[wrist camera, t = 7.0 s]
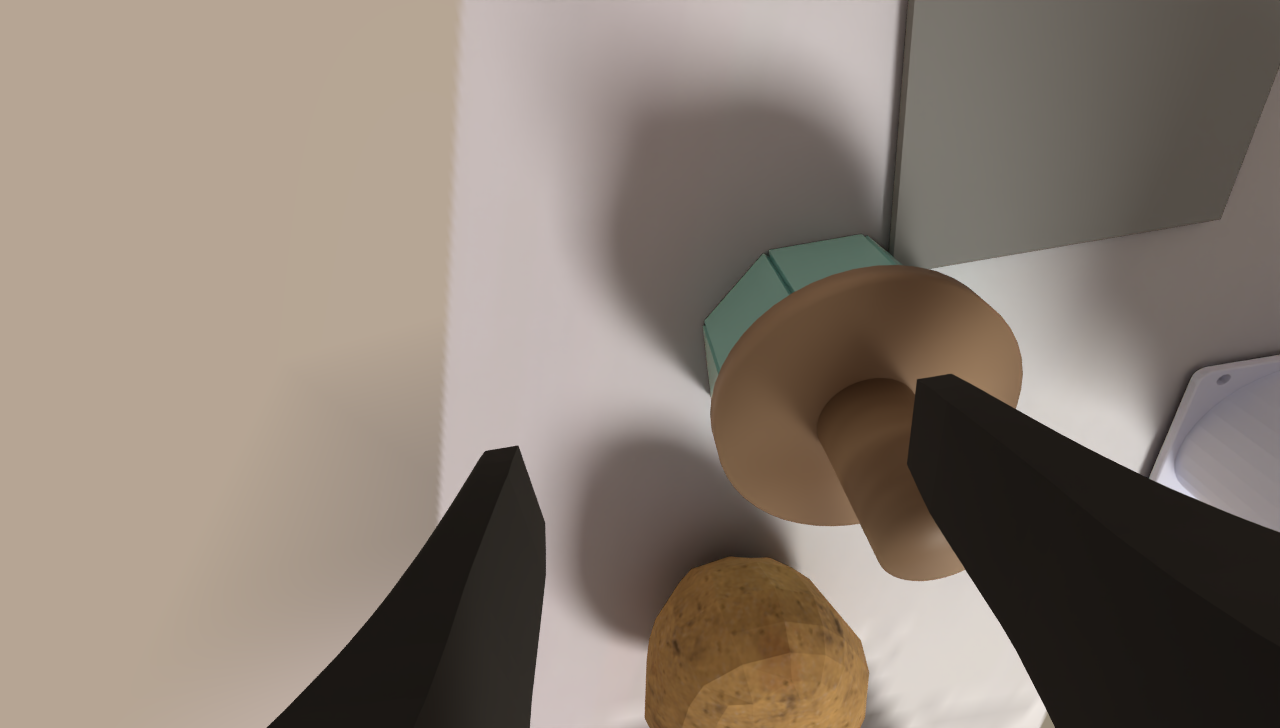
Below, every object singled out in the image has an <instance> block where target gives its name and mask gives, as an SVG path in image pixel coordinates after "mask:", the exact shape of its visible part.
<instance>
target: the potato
mask: <svg viewBox="0 0 1280 728" xmlns="http://www.w3.org/2000/svg"><path fill="white" fill-rule="evenodd" d="M868 678H869V670H868V666H867V662H866V659H865V655H864V651H863V647H862V643H861V640H860V639H859V638H858V637H857V635H856V634H855V633H854V632H853V630H852V629H851V628H850V627H849V626H848V624H847V623H846V622H845V621H844V620H843V618H842V617H841V616H840V615H839V614H838V613H837V611H836V610H835V609H834V608H833V607H832V605H831V604H830V603H829V602H828V601H827V599H826V598H825V597H824V596H823V595H822V594H821V592H820V591H819V590H818V589H817V588H816V586H815V585H814V584H813V583H812V582H811V580H810V579H809V578H807V577H805V576H804V575H802V574H801V573H799V572H798V571H796V570H795V569H793V568H791V567H789V566H787V565H785V564H783V563H780V562H778V561H776V560H774V559H771V558H769V557H767V558H744V557H732V556H729V557H726V558H723V559H720V560H717V561H714V562H711V563H708V564H705V565H702V566H699V567H696V568H693V569H691V570H690V571H689V572H688V573H687V575H686V576H685V577H684V578H683V579H682V580H681V581H680V582H679V584H678V585H677V587H676V588H675V590H674V592H673V593H672V595H671V596H670V598H669V599H668V601H667V602H666V604H665V605H664V607H663V608H662V610H661V611H660V613H659V615H658V616H657V618H656V619H655V622H654V626H653V629H652V632H651V635H650V638H649V646H648V654H647V667H646V695H645V720H646V722H647V723H648V725H649V727H650V728H860V726H861V724H862V722H863V720H864V719H865V709H866V699H867V688H868Z"/></svg>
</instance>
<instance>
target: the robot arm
mask: <svg viewBox="0 0 1280 728" xmlns="http://www.w3.org/2000/svg"><path fill="white" fill-rule="evenodd" d="M907 466H908V468H909V470H910V472H911V475H912V477H913V479H914V481H915V484H916V486H917V488H918V490H919V492H920V494H921V496H922V498H923V501H924V503H925V505H926V507H927V509H928V511H929V513H930V515H931V516H932V518H933V519H934V521H935V523H936V524H937V526H938V528H939V529H940V531H941V532H942V534H943V535H944V537H945V539H946V540H947V542H948V543H949V545H950V546H951V548H952V550H953V551H954V553H955V554H956V556H957V557H958V559H959V560H960V562H961V564H962V565H963V567H964V568H965V570H966V571H967V573H968V574H969V576H970V578H971V579H972V581H973V582H974V584H975V585H976V587H977V588H978V590H979V591H980V593H981V595H982V596H983V598H984V599H985V601H986V602H987V604H988V605H989V607H990V608H991V610H992V612H993V613H994V615H995V616H996V618H997V619H998V621H999V622H1000V624H1001V626H1002V627H1003V629H1004V631H1005V632H1006V634H1007V636H1008V638H1009V639H1010V641H1011V643H1012V644H1013V646H1014V648H1015V649H1016V651H1017V653H1018V655H1019V657H1020V659H1021V661H1022V663H1023V665H1024V667H1025V669H1026V671H1027V673H1028V675H1029V676H1030V678H1031V680H1032V682H1033V684H1034V686H1035V688H1036V690H1037V692H1038V694H1039V696H1040V698H1041V700H1042V702H1043V704H1044V706H1045V708H1046V710H1047V712H1048V714H1049V716H1050V718H1051V720H1052V722H1053V724H1054V726H1055V728H1280V355H1275V356H1269V357H1263V358H1257V359H1251V360H1245V361H1239V362H1232V363H1226V364H1220V365H1214V366H1208V367H1204V368H1201V369H1200V370H1198V371H1196V372H1195V373H1194V374H1193V376H1192V377H1191V379H1190V382H1189V384H1188V386H1187V389H1186V391H1185V393H1184V396H1183V398H1182V401H1181V403H1180V405H1179V408H1178V410H1177V412H1176V415H1175V417H1174V420H1173V422H1172V424H1171V427H1170V429H1169V431H1168V434H1167V436H1166V439H1165V441H1164V443H1163V446H1162V448H1161V451H1160V453H1159V455H1158V458H1157V460H1156V462H1155V465H1154V467H1153V470H1152V472H1151V474H1150V477H1149V478H1147V477H1145V476H1142V475H1140V474H1138V473H1136V472H1134V471H1132V470H1130V469H1128V468H1126V467H1124V466H1122V465H1120V464H1118V463H1116V462H1114V461H1112V460H1110V459H1108V458H1106V457H1104V456H1102V455H1100V454H1098V453H1096V452H1094V451H1092V450H1090V449H1088V448H1086V447H1084V446H1082V445H1080V444H1078V443H1076V442H1075V441H1073V440H1071V439H1069V438H1067V437H1065V436H1063V435H1061V434H1060V433H1058V432H1056V431H1054V430H1052V429H1050V428H1049V427H1047V426H1045V425H1043V424H1041V423H1040V422H1038V421H1036V420H1034V419H1032V418H1031V417H1029V416H1027V415H1025V414H1023V413H1022V412H1020V411H1018V410H1016V409H1015V408H1013V407H1011V406H1009V405H1008V404H1006V403H1004V402H1002V401H1001V400H999V399H997V398H995V397H994V396H992V395H990V394H988V393H986V392H985V391H983V390H981V389H979V388H978V387H976V386H974V385H972V384H970V383H969V382H967V381H965V380H963V379H961V378H959V377H957V376H955V375H953V374H946V375H940V376H934V377H928V378H922V379H917V383H916V391H915V400H914V408H913V416H912V425H911V433H910V442H909V450H908V459H907ZM545 577H546V541H545V521H544V518H543V515H542V513H541V510H540V507H539V504H538V501H537V498H536V495H535V492H534V490H533V487H532V484H531V481H530V478H529V475H528V472H527V469H526V466H525V464H524V461H523V458H522V455H521V452H520V449H519V446H513V447H507V448H501V449H495V450H488V451H485V452H484V453H483V455H482V456H481V457H480V459H479V461H478V462H477V464H476V465H475V467H474V469H473V470H472V472H471V474H470V475H469V477H468V478H467V480H466V482H465V483H464V485H463V487H462V488H461V490H460V491H459V493H458V495H457V496H456V498H455V499H454V501H453V503H452V504H451V506H450V507H449V509H448V510H447V512H446V514H445V515H444V517H443V518H442V520H441V521H440V523H439V524H438V526H437V527H436V529H435V530H434V532H433V533H432V535H431V536H430V538H429V539H428V541H427V542H426V544H425V545H424V547H423V548H422V549H421V551H420V552H419V554H418V555H417V557H416V558H415V559H414V561H413V562H412V563H411V565H410V566H409V567H408V569H407V570H406V572H405V573H404V574H403V576H402V577H401V578H400V580H399V581H398V583H397V584H396V585H395V586H394V588H393V589H392V591H391V592H390V593H389V595H388V596H387V597H386V598H385V600H384V601H383V602H382V604H381V605H380V606H379V607H378V608H377V610H376V611H375V612H374V613H373V615H372V616H371V617H370V618H369V620H368V621H367V622H366V623H365V624H364V626H363V627H362V628H361V629H360V630H359V631H358V633H357V634H356V635H355V636H354V637H353V638H352V640H351V641H350V642H349V643H348V644H347V645H346V647H345V648H344V649H343V650H342V651H341V652H340V654H338V655H337V657H336V658H335V659H334V660H333V661H332V662H331V663H330V664H329V665H328V666H327V667H326V668H325V669H324V670H323V671H322V672H321V673H320V674H319V676H317V678H316V679H315V680H314V681H313V682H312V683H311V684H310V685H309V686H308V687H307V688H306V689H305V690H304V691H303V692H302V693H301V694H300V695H299V696H298V697H297V698H296V699H295V700H294V701H293V702H292V703H291V704H290V706H288V707H287V708H286V709H285V711H283V712H282V713H281V714H280V715H279V716H278V717H277V718H276V719H275V720H274V721H273V722H272V723H271V724H270V725H269V726H268V727H267V728H530V717H531V703H532V693H533V684H534V675H535V667H536V658H537V649H538V641H539V632H540V623H541V614H542V605H543V596H544V587H545Z"/></svg>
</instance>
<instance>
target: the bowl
mask: <svg viewBox="0 0 1280 728" xmlns="http://www.w3.org/2000/svg"><path fill="white" fill-rule="evenodd" d="M878 265H902V264H901V263H900V262H899V261H898V260H896V259H895V258H894V257H893V256H892V255H891V254H890V253H889V252H887V251H886V250H885V249H884V248H882V247H881V246H880V245H879V244H878V243H876V242H875V241H874V240H873V239H871V238H870V237H869V236H868V235H867V236H866V237H864V236H863V235H862V234H859V235H853V236H847V237H841V238H836V239H830V240H824V241H818V242H812V243H807V244H801V245H795V246H789V247H783V248H777V249H772V250H769V257H768V256H767V255H765V254H764V253H763V254H762V255H761V256H760V258H759V259H758V260H757V261H756V262H755V263H754V264H753V266H752V267H751V268H750V269H749V270H748V271H747V272H746V274H745V275H744V276H743V277H742V278H741V279H740V280H739V282H738V283H737V284H736V285H735V286H734V287H733V289H732V290H731V291H730V292H729V293H728V294H727V295H726V297H725V298H724V299H723V300H722V301H721V302H720V303H719V305H718V306H717V307H716V308H715V309H714V310H713V311H712V313H711V314H710V315H709V316H708V317H707V318H706V320H705V321H704V322H705V325H704V326H703V333H704V342H705V351H706V360H707V369H708V378H709V387H710V396H711V398H712V394H713V390H714V386H715V382H716V379H717V377H718V374H719V372H720V369H721V367H722V365H723V363H724V361H725V360H726V358H727V356H728V354H729V353H730V351H731V349H732V348H733V347H734V345H735V344H736V343H737V341H738V340H739V339H740V337H741V336H742V335H743V333H744V332H745V331H746V330H747V329H748V328H749V327H750V326H751V325H752V324H753V323H754V322H755V321H756V320H757V319H758V318H759V317H760V316H762V315H763V314H764V313H765V312H766V311H767V310H769V309H770V308H771V307H772V306H774V305H775V304H777V303H778V302H780V301H781V300H783V299H784V298H786V297H787V296H789V295H790V294H792V293H793V292H795V291H797V290H799V289H801V288H803V287H805V286H807V285H809V284H811V283H813V282H815V281H818V280H821V279H823V278H826V277H828V276H831V275H834V274H837V273H841V272H845V271H848V270H852V269H857V268H863V267H870V266H878Z"/></svg>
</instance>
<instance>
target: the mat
mask: <svg viewBox="0 0 1280 728" xmlns="http://www.w3.org/2000/svg"><path fill="white" fill-rule="evenodd" d="M1279 66H1280V0H908V8H907V21H906V34H905V47H904V60H903V73H902V86H901V99H900V112H899V125H898V138H897V151H896V164H895V177H894V190H893V203H892V216H891V229H890V242H889V253H890V254H891V255H892V256H893V257H894V258H895V259H896V260H898V261H899V262H900V263H901V264H902V265H904V266H914V267H920V268H925V269H932V268H938V267H943V266H949V265H955V264H961V263H967V262H973V261H979V260H985V259H990V258H996V257H1002V256H1008V255H1014V254H1020V253H1026V252H1031V251H1037V250H1043V249H1049V248H1055V247H1061V246H1067V245H1073V244H1078V243H1084V242H1090V241H1096V240H1102V239H1108V238H1114V237H1120V236H1125V235H1131V234H1137V233H1143V232H1149V231H1155V230H1161V229H1167V228H1172V227H1178V226H1184V225H1190V224H1196V223H1202V222H1208V221H1214V220H1219V219H1221V217H1222V214H1223V211H1224V209H1225V206H1226V204H1227V201H1228V198H1229V196H1230V193H1231V191H1232V188H1233V185H1234V183H1235V180H1236V178H1237V175H1238V173H1239V170H1240V167H1241V165H1242V162H1243V160H1244V157H1245V154H1246V152H1247V149H1248V147H1249V144H1250V141H1251V139H1252V136H1253V134H1254V131H1255V128H1256V126H1257V123H1258V121H1259V118H1260V115H1261V113H1262V110H1263V108H1264V105H1265V102H1266V100H1267V97H1268V95H1269V92H1270V89H1271V87H1272V84H1273V82H1274V79H1275V76H1276V74H1277V71H1278V69H1279Z"/></svg>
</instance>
